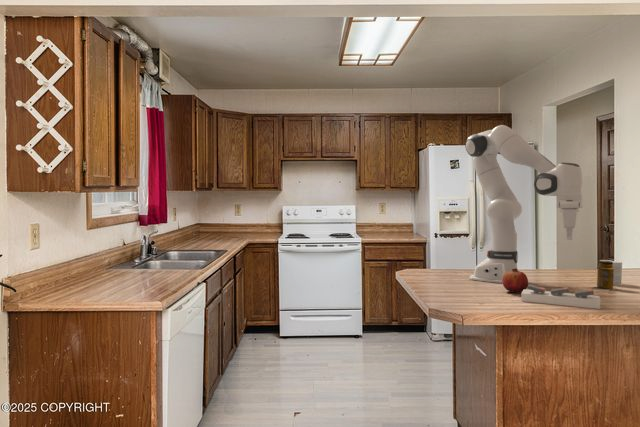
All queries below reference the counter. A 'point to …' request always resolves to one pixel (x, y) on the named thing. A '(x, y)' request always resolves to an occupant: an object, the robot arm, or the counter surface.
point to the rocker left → (536, 288)
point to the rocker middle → (560, 290)
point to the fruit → (515, 281)
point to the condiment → (605, 276)
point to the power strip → (561, 299)
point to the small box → (616, 272)
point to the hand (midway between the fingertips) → (569, 238)
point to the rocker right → (584, 292)
